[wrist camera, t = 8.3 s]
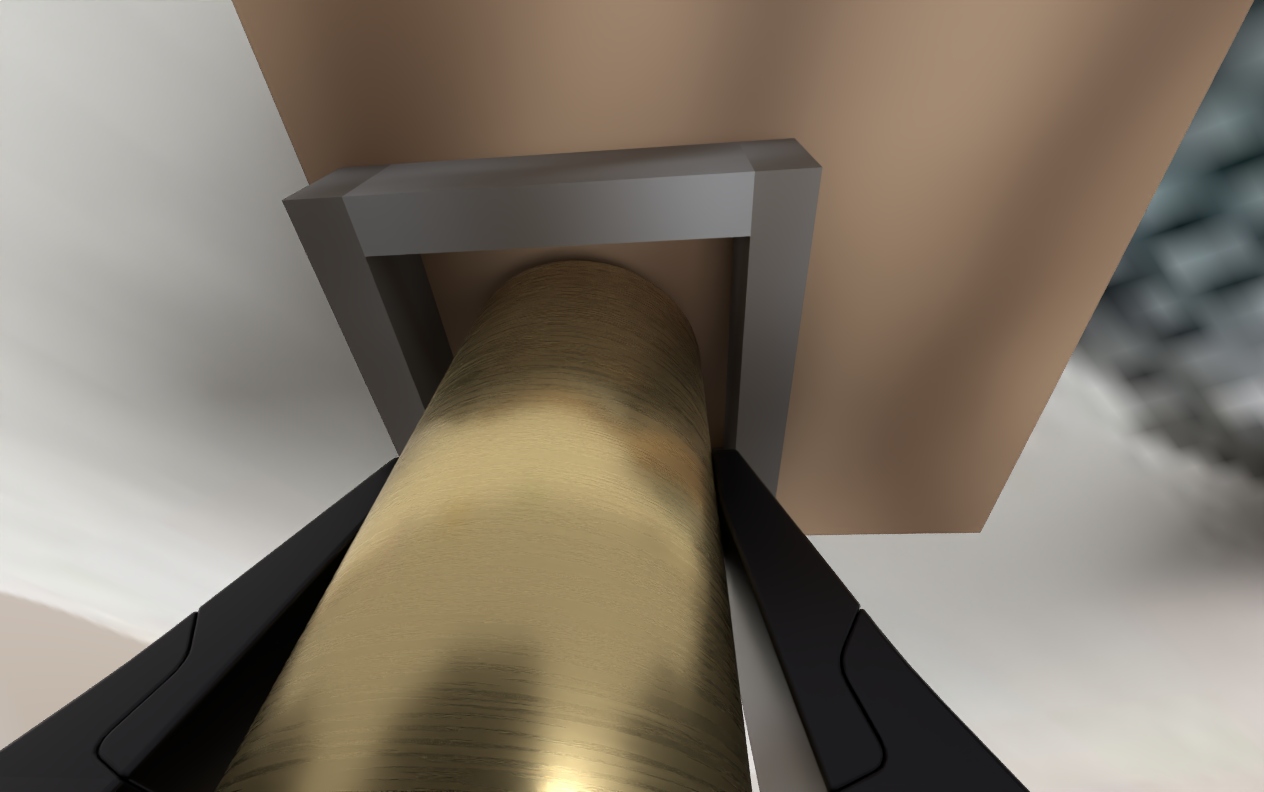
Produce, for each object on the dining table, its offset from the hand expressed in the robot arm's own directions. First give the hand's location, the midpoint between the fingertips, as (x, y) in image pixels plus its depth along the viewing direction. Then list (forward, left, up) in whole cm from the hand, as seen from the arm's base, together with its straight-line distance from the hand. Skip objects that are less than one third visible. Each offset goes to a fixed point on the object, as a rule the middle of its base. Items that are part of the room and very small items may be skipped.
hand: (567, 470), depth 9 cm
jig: (-3, 0, -6) cm, 6 cm away
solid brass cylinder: (0, 0, -3) cm, 3 cm away
